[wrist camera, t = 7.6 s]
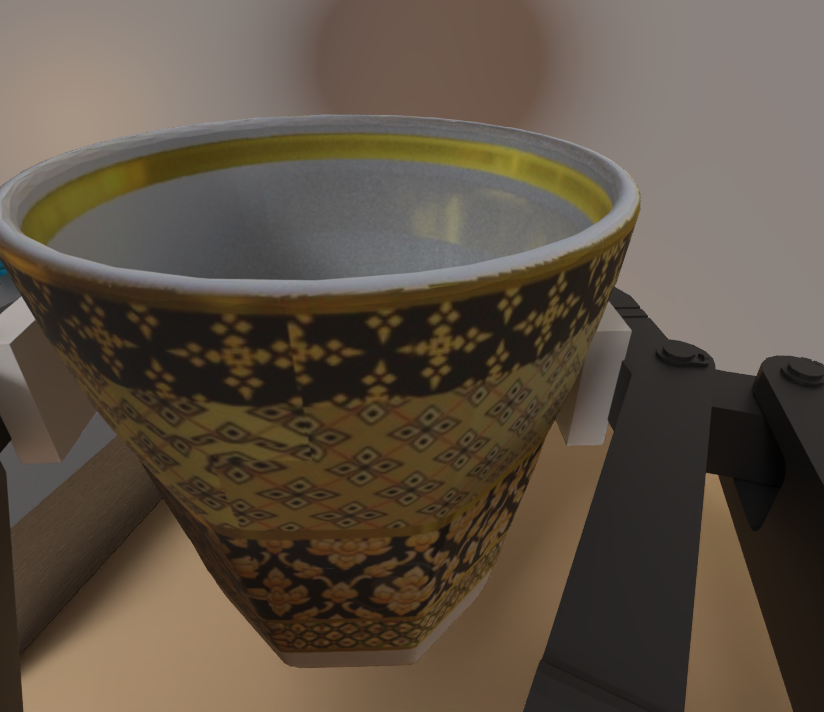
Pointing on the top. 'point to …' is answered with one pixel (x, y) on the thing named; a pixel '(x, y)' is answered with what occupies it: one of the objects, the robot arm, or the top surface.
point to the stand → (69, 514)
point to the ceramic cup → (328, 346)
